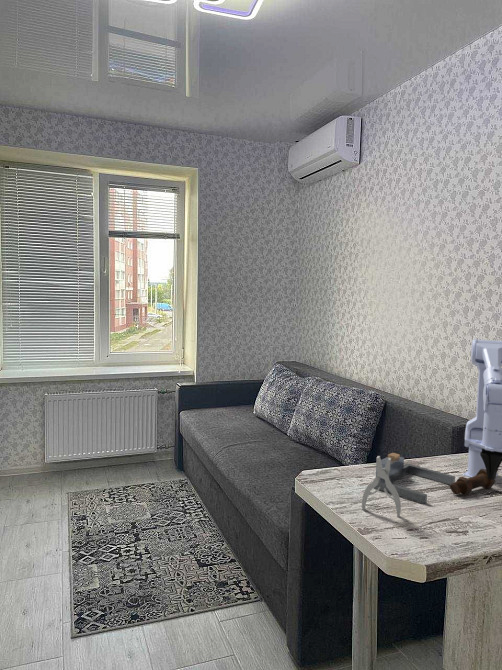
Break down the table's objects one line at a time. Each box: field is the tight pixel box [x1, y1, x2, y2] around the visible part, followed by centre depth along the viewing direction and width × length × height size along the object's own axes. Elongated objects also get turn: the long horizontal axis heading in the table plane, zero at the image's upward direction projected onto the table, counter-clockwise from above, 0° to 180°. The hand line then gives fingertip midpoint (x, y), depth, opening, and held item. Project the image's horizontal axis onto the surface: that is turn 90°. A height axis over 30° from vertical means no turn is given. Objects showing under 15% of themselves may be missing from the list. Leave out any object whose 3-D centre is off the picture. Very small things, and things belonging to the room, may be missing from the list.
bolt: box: [449, 469, 496, 496], centre depth 150 cm, size 6×5×15 cm
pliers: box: [361, 455, 402, 518], centre depth 133 cm, size 10×2×15 cm, turn 64°
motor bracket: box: [373, 452, 456, 505], centre depth 153 cm, size 21×18×7 cm
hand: (491, 478), depth 137 cm, fingers closed
